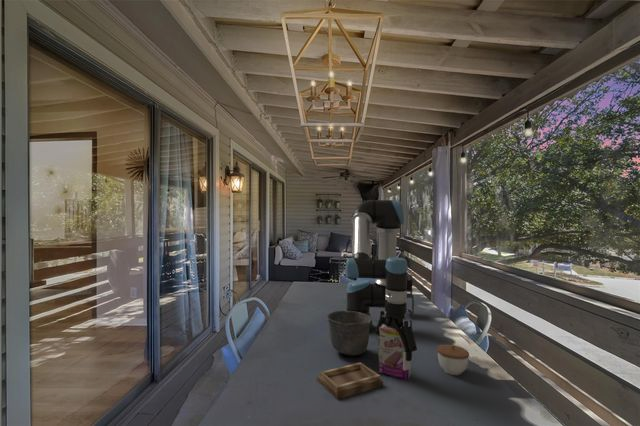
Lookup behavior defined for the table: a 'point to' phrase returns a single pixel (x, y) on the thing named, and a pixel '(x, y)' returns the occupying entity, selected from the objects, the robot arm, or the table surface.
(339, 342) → the dark grey pot
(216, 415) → the table surface
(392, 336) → the candy bar box
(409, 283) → the chair
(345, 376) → the wooden tray
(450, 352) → the lidded jar
